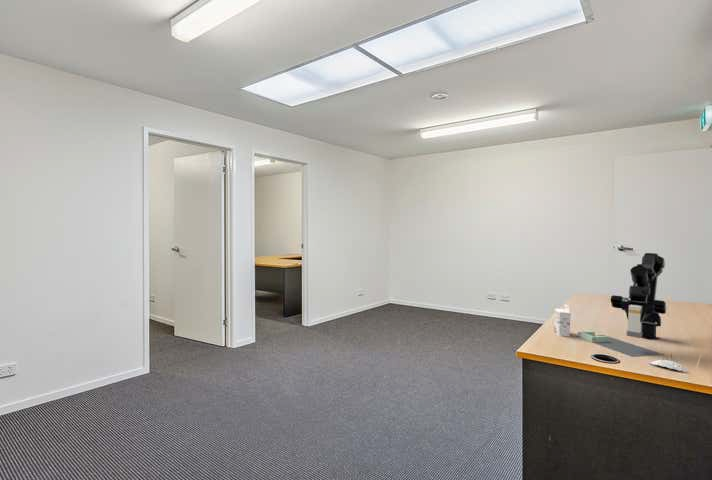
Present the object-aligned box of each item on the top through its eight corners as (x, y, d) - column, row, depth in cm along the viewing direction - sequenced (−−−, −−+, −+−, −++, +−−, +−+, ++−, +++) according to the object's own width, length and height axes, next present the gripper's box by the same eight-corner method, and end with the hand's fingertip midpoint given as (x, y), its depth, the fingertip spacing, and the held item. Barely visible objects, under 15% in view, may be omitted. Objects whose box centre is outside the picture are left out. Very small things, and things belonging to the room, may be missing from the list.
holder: (594, 336, 186) (594, 331, 185) (610, 341, 177) (610, 336, 177) (578, 337, 184) (578, 331, 184) (593, 342, 175) (594, 337, 175)
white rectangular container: (628, 333, 167) (629, 304, 166) (642, 335, 164) (643, 306, 163) (626, 335, 164) (627, 305, 163) (640, 338, 160) (641, 307, 160)
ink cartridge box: (553, 332, 194) (554, 302, 193) (564, 332, 193) (565, 302, 192) (558, 336, 186) (559, 305, 185) (570, 337, 185) (571, 306, 184)
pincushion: (645, 366, 147) (646, 351, 147) (651, 363, 150) (652, 348, 150) (686, 376, 137) (687, 360, 137) (692, 372, 141) (692, 357, 141)
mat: (603, 335, 189) (603, 334, 188) (665, 355, 159) (665, 354, 159) (574, 337, 185) (574, 336, 185) (632, 357, 156) (632, 356, 156)
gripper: (612, 276, 172) (605, 305, 165) (666, 281, 159) (661, 312, 152) (615, 292, 178) (609, 320, 171) (668, 298, 165) (663, 329, 158)
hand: (634, 320), depth 162 cm, fingers closed on white rectangular container, 4 cm apart
